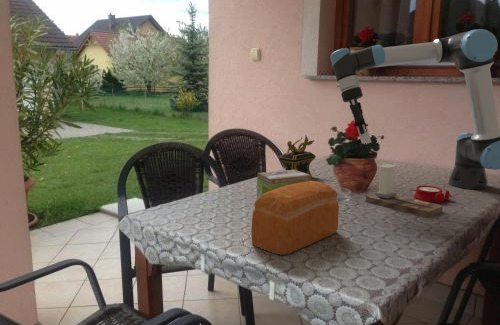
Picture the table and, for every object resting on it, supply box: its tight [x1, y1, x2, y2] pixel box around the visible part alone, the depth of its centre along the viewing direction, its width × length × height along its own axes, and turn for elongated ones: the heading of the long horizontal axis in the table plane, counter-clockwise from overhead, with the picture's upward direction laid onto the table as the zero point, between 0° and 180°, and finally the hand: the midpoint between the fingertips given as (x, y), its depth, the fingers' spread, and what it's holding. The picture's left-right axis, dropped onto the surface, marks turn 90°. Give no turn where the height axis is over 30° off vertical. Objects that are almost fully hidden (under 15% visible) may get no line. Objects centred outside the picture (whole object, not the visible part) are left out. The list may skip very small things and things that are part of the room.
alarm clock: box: [409, 185, 455, 204], centre depth 156 cm, size 10×6×15 cm
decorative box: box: [278, 134, 316, 177], centre depth 191 cm, size 20×10×20 cm, turn 135°
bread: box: [250, 180, 340, 256], centre depth 115 cm, size 14×26×16 cm, turn 135°
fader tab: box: [374, 163, 398, 199], centre depth 151 cm, size 5×6×11 cm
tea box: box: [256, 169, 312, 200], centre depth 135 cm, size 15×10×15 cm
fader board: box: [365, 193, 444, 218], centre depth 147 cm, size 24×10×2 cm, turn 40°
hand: (366, 143), depth 153 cm, fingers open, 13 cm apart
